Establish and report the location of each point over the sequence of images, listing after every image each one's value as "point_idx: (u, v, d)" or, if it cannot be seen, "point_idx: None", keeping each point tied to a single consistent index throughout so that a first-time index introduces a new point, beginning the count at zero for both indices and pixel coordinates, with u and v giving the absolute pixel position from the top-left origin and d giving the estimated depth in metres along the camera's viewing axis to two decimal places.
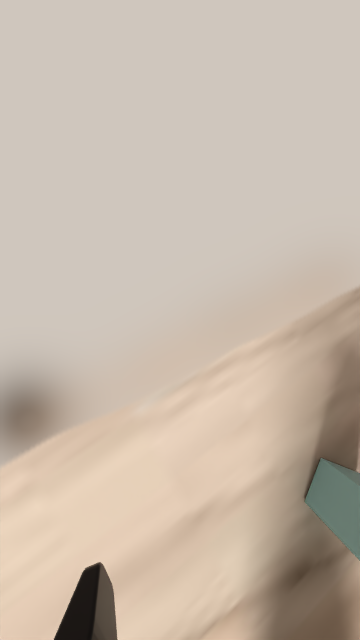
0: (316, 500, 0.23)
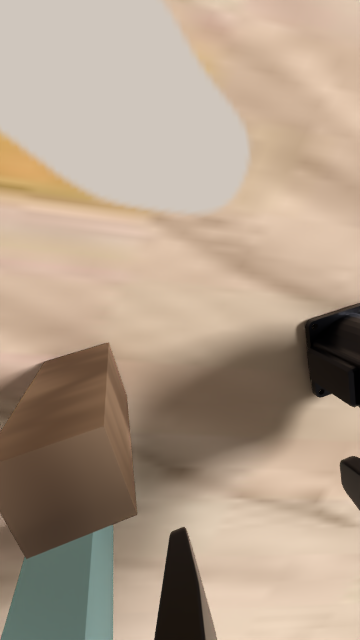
0: None
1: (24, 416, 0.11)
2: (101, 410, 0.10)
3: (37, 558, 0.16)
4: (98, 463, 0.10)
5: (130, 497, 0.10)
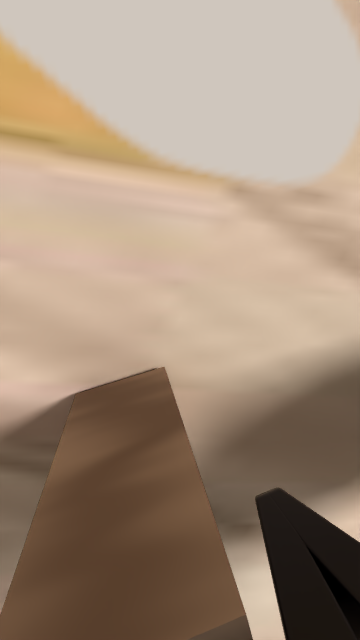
0: None
1: (58, 528, 0.06)
2: (214, 543, 0.05)
3: None
4: None
5: None
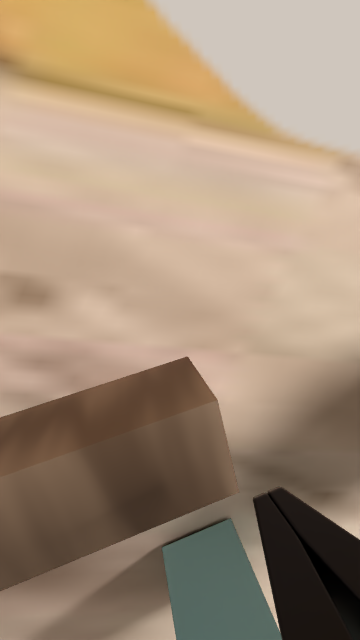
0: None
1: (42, 411, 0.11)
2: None
3: (195, 628, 0.12)
4: None
5: None
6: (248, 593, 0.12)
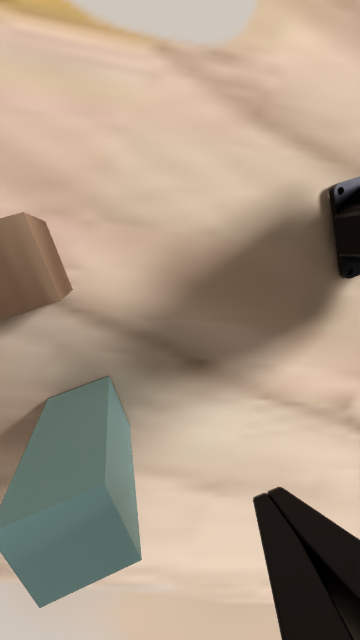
0: None
1: None
2: None
3: (48, 428, 0.14)
4: None
5: None
6: (97, 406, 0.15)
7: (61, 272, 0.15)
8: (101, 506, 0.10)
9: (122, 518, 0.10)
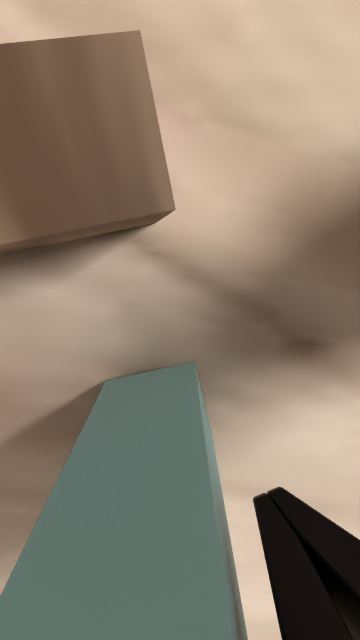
0: None
1: None
2: None
3: (102, 433, 0.09)
4: None
5: None
6: (182, 410, 0.09)
7: None
8: None
9: None
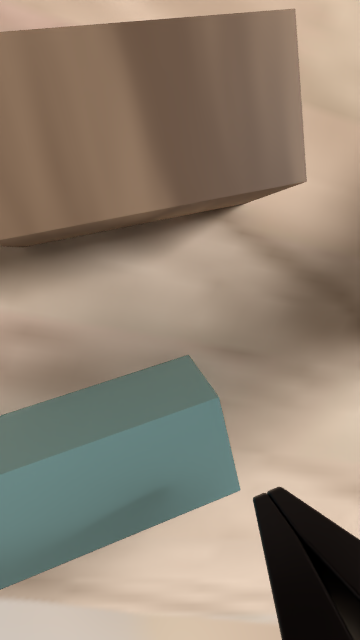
0: None
1: None
2: None
3: (108, 389, 0.12)
4: None
5: None
6: (117, 422, 0.09)
7: None
8: None
9: None
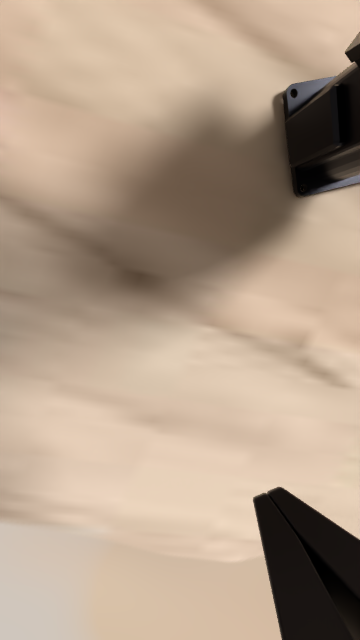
0: None
1: None
2: None
3: None
4: None
5: None
6: None
7: None
8: None
9: None
